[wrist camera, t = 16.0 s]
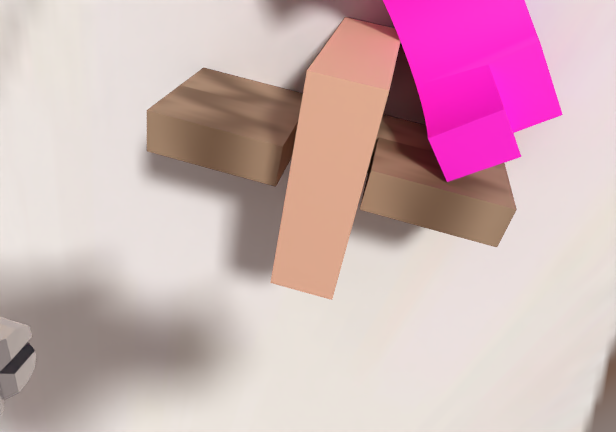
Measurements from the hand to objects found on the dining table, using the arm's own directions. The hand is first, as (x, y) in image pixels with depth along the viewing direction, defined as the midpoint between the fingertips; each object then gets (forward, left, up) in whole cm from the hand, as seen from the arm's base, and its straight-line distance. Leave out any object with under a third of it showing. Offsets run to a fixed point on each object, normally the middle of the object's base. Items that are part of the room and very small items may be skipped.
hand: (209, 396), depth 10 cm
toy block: (+4, +5, -25) cm, 26 cm away
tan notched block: (0, -3, -25) cm, 25 cm away
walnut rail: (0, -4, -25) cm, 25 cm away
